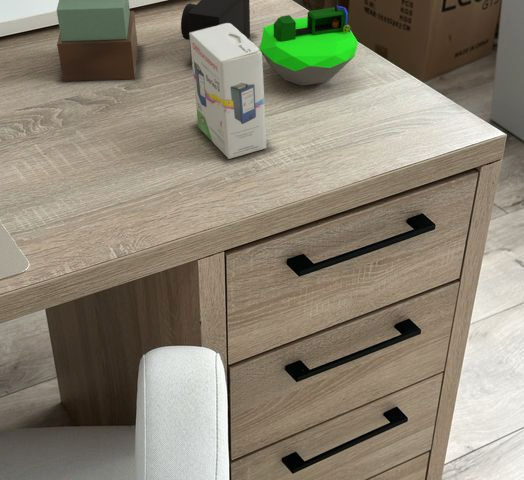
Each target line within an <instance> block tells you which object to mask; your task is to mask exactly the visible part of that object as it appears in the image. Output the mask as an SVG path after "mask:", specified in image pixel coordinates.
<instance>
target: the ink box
mask: <svg viewBox="0 0 524 480" xmlns="http://www.w3.org/2000/svg"><path fill="white" fill-rule="evenodd" d="M189 35H190V40H189V46H190V45H191V53H190V57H191V56H192V64H191V67H192V75H193V85H194V96H195V107H196V115H197V117H196V118H197V128H198V129H199V131H201V132H202V133H203V134H204V135H205V136H206V137H207V138H208V139H209V140H210V141H211V142H212V144H214V145H215V146H216V147H217V148H218V149H219V150H220V152H222V154H223V155H224V156H225V157H226V158H227V159H228V160H230V159H233V158H237V157H241V156H244V155H247V154H251V153H255V152H258V151H261V150H265V149H267V130H266V109H265V88H264V87H265V86H264V85H265V84H264V66H263V65H264V64H263V54H262V52H261V51H260V47H258V46H257V45H256V44H255V43H254V42H252V41H251V40H250V38H249V39H247V37H246V36H245V35H243V34H242V33H241V32H240V31H239V30H238V29H237V28H235V27H234V26H233V25H232V24H230V23H225V24H221V25H218V26H214V27H210V28H206V29H202V30H198V31H194V32H190V33H189Z"/></svg>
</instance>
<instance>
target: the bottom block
mask: <svg viewBox="0 0 524 480" xmlns="http://www.w3.org/2000/svg"><path fill="white" fill-rule="evenodd" d="M56 47H57V51H58V52H57V53H58V59H59V64H60V70H61V76H62V77H61V78H62V82H86V81H114V80H115V81H116V80H117V81H118V80H135V79H136V73H137V62H138V61H137V60H138V52H139V51H138V50H139V45H138V36H137V25H136V17H135V10H130V16H129V25H128V34H127V39H118V40H88V41H61V35H60V33H59V35H58V38H57V43H56Z"/></svg>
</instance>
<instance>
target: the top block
mask: <svg viewBox="0 0 524 480" xmlns="http://www.w3.org/2000/svg"><path fill="white" fill-rule="evenodd" d="M130 11H131V9H130V0H58V3H57V7H56V14H57V15H56V16H57V21H58V28H59V34H60V35H61V41H88V40H118V39H127V34H128V25H129V16H130Z"/></svg>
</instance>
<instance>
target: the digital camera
mask: <svg viewBox="0 0 524 480" xmlns="http://www.w3.org/2000/svg"><path fill="white" fill-rule="evenodd" d="M250 7H251V5H250V0H199V1H198V2H197V4H195V3H187V4H186V5H185V7H184V8H183V10H182V13H181V19H180V33H181V36H182V38H183V39H184V40H187V41H190V35H189V33H190V32H194V31H198V30H202V29H206V28H210V27H214V26H218V25H221V24H225V23H230V24H232V25H233V26H234V27H235V28H237V29H238V30H239V31H240V32H241V33H242V34H243V35H245V36H246V37H247V39H249V40H250V37H251V12H250V11H251V8H250ZM189 52H190V54H191V45H190V44H189ZM190 64H191V65H192V56H191V55H190Z"/></svg>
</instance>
